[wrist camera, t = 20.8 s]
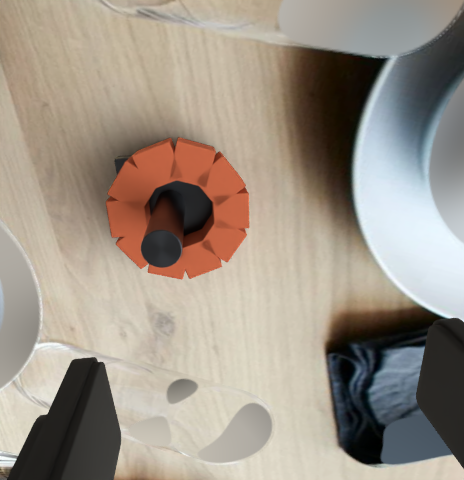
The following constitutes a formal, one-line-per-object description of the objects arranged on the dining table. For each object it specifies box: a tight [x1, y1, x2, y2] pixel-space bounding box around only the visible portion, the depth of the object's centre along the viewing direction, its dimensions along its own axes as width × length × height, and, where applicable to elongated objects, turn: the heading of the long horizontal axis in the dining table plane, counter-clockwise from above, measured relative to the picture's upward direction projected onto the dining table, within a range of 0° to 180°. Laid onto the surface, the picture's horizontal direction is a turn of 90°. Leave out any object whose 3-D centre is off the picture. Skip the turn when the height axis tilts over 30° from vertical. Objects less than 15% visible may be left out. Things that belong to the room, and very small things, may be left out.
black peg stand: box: [115, 156, 212, 268], centre depth 26 cm, size 8×8×12 cm
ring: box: [106, 137, 249, 279], centre depth 29 cm, size 11×11×3 cm
